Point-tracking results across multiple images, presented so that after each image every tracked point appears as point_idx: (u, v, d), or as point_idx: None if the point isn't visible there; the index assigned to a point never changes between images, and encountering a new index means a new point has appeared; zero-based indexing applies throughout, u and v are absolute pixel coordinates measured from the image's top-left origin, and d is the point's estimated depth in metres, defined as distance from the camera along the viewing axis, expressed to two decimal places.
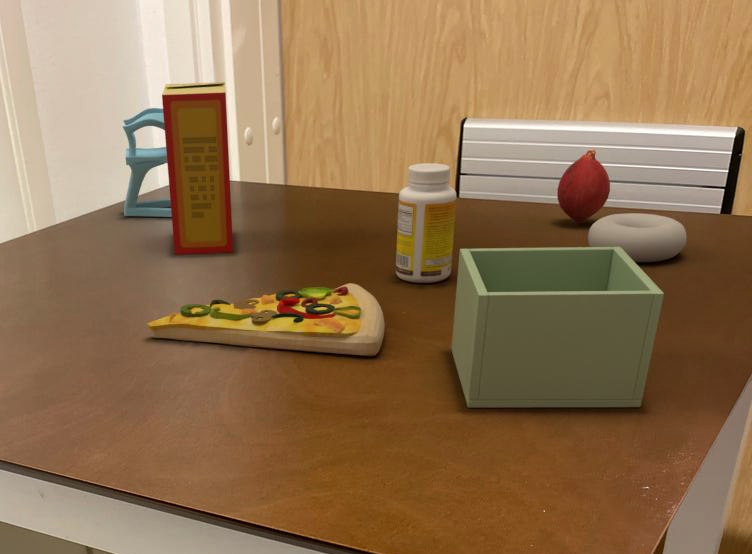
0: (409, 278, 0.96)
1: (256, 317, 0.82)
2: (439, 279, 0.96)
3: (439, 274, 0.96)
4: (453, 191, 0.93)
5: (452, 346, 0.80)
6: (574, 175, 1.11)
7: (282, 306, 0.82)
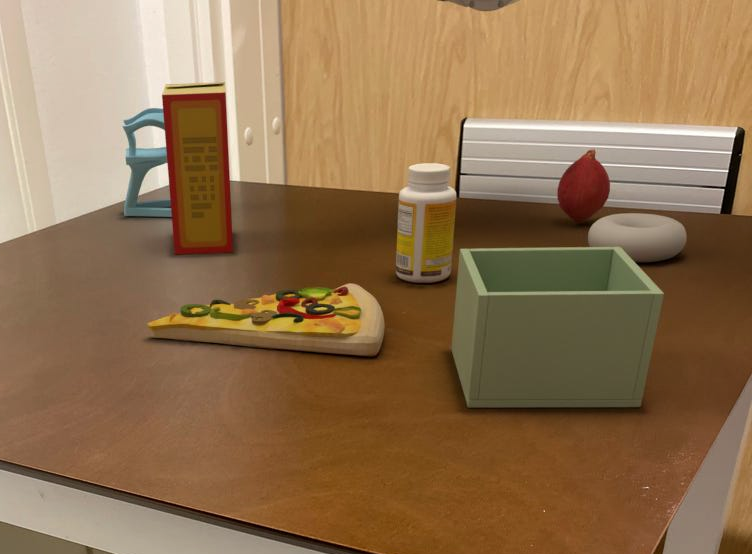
0: (409, 278, 0.96)
1: (256, 317, 0.82)
2: (439, 279, 0.96)
3: (439, 274, 0.96)
4: (453, 191, 0.93)
5: (452, 346, 0.80)
6: (574, 175, 1.11)
7: (282, 306, 0.82)
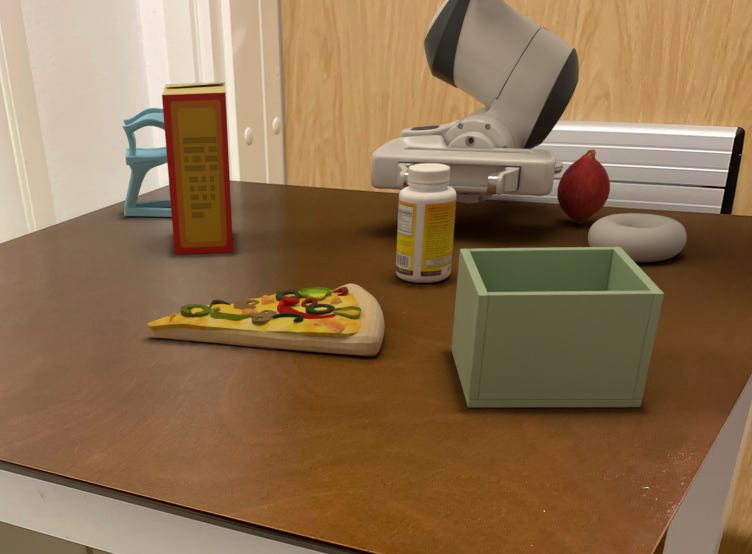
0: (409, 278, 0.96)
1: (256, 317, 0.82)
2: (439, 279, 0.96)
3: (439, 274, 0.96)
4: (453, 191, 0.93)
5: (452, 346, 0.80)
6: (574, 175, 1.11)
7: (282, 306, 0.82)
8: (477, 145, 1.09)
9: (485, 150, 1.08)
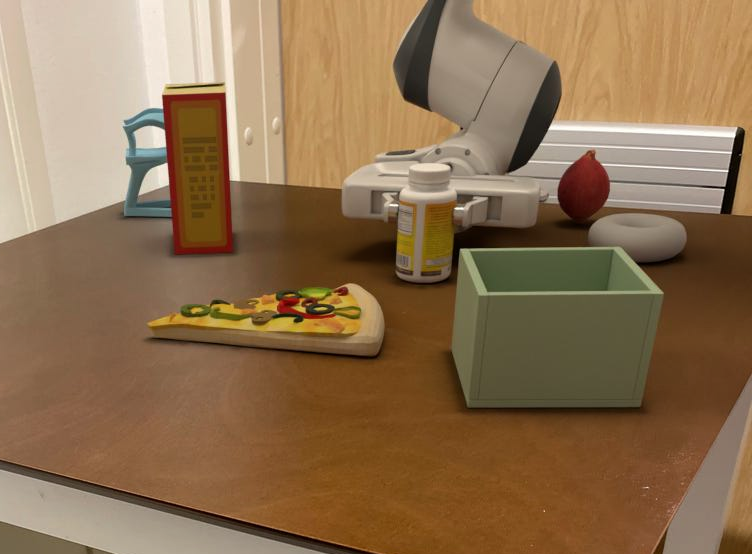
0: (409, 278, 0.96)
1: (256, 317, 0.82)
2: (439, 279, 0.96)
3: (439, 274, 0.96)
4: (453, 191, 0.93)
5: (452, 346, 0.80)
6: (574, 175, 1.11)
7: (282, 306, 0.82)
8: (456, 172, 1.01)
9: (464, 177, 1.00)
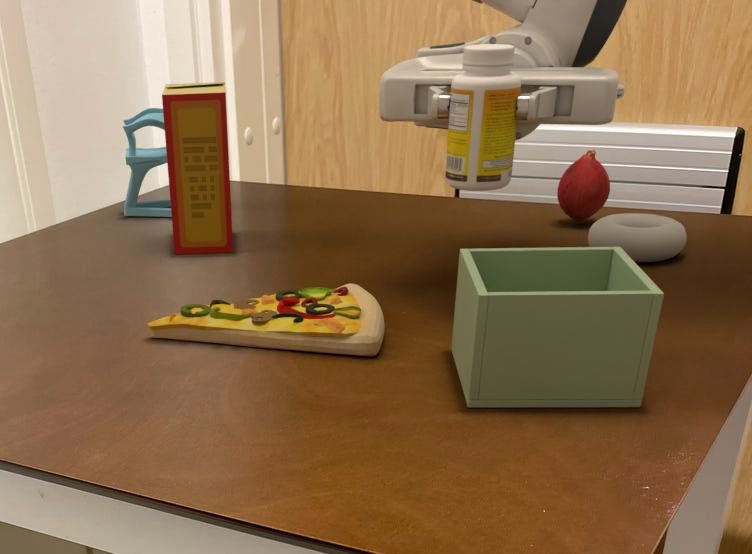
0: (463, 185, 0.81)
1: (256, 317, 0.82)
2: (498, 186, 0.81)
3: (499, 179, 0.80)
4: (517, 76, 0.77)
5: (452, 346, 0.80)
6: (574, 175, 1.11)
7: (282, 306, 0.82)
8: (515, 64, 0.85)
9: (525, 70, 0.85)
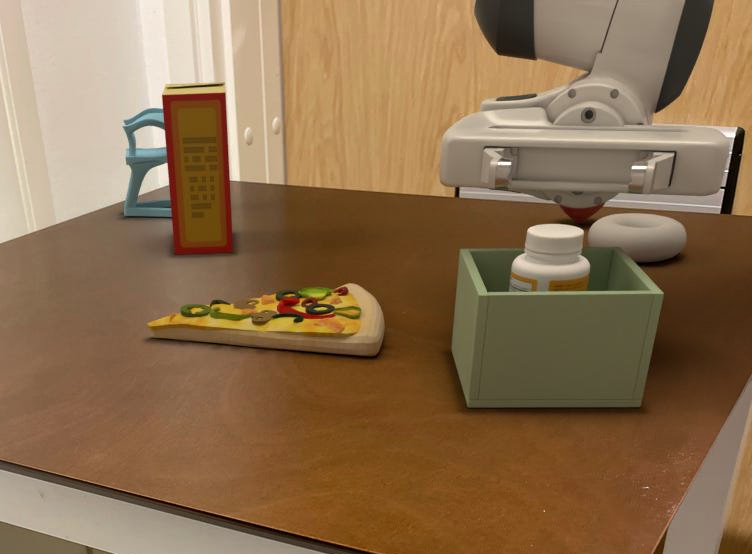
0: None
1: (256, 317, 0.82)
2: None
3: None
4: (586, 262, 0.69)
5: (452, 346, 0.80)
6: None
7: (282, 306, 0.82)
8: (599, 121, 0.73)
9: (612, 128, 0.72)
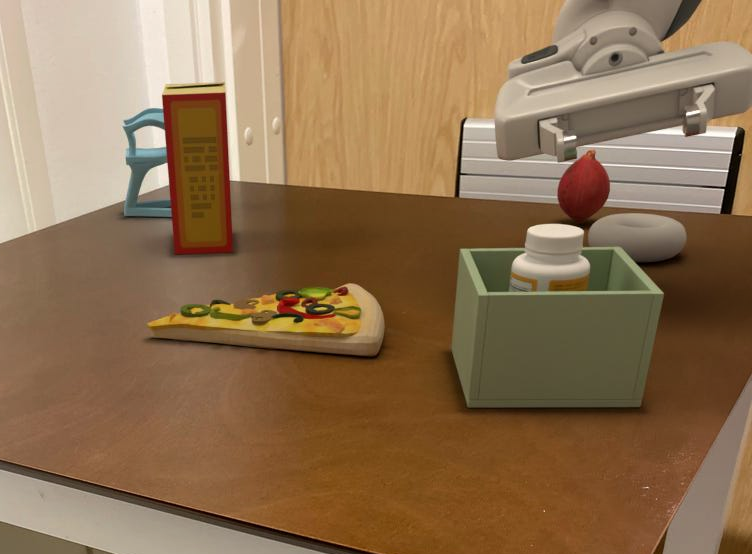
0: None
1: (256, 317, 0.82)
2: None
3: None
4: (586, 262, 0.69)
5: (452, 346, 0.80)
6: (574, 175, 1.11)
7: (282, 306, 0.82)
8: (626, 61, 0.80)
9: (639, 66, 0.80)
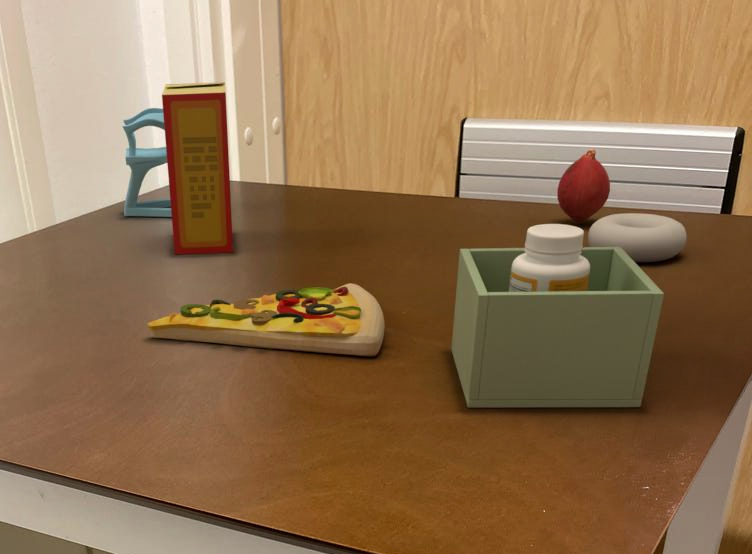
0: None
1: (256, 317, 0.82)
2: None
3: None
4: (586, 262, 0.69)
5: (452, 346, 0.80)
6: (574, 175, 1.11)
7: (282, 306, 0.82)
8: None
9: None
